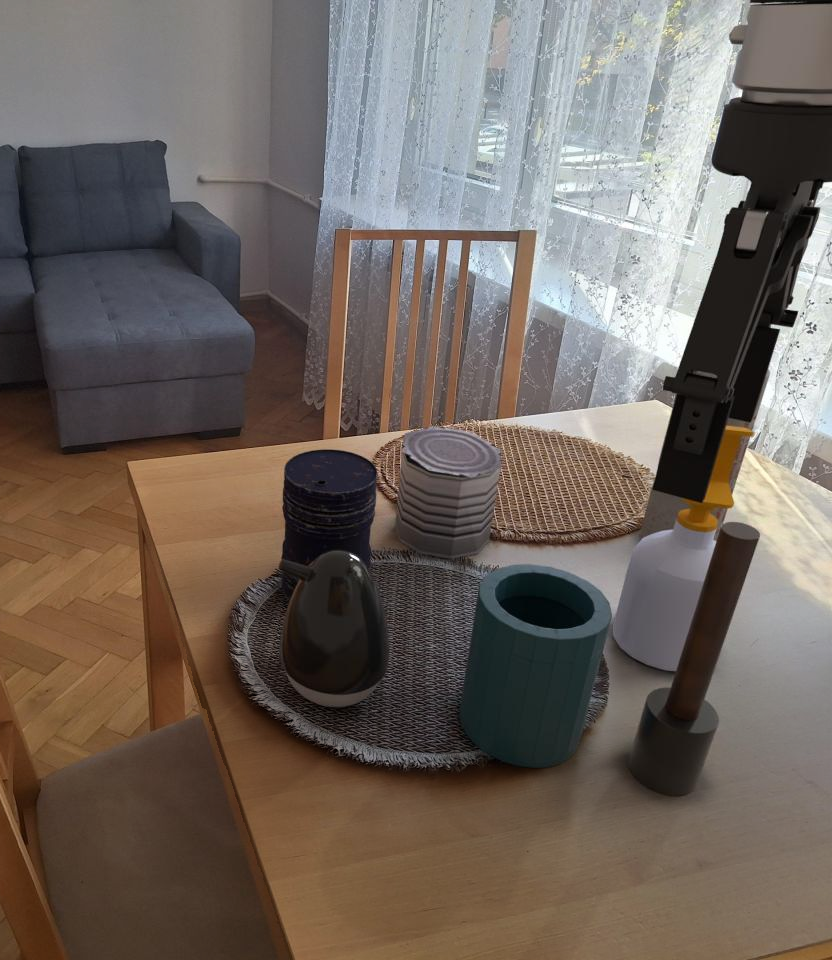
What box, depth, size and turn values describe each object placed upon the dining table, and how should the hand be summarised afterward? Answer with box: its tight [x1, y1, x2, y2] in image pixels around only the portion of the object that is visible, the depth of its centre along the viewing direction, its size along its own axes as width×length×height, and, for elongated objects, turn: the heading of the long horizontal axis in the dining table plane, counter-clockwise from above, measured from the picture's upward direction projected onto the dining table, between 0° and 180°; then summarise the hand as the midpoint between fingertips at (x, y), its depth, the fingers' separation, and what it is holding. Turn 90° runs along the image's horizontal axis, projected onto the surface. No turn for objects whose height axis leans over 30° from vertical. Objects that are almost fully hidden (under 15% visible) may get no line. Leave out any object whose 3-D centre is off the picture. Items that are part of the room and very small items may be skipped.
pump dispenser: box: [278, 549, 390, 708], centre depth 79 cm, size 10×10×15 cm
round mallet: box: [627, 521, 761, 797], centre depth 66 cm, size 5×5×24 cm
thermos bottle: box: [639, 368, 771, 541], centre depth 95 cm, size 8×8×28 cm
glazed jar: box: [459, 563, 613, 769], centre depth 74 cm, size 10×10×14 cm
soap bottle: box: [612, 426, 755, 672], centre depth 80 cm, size 9×9×25 cm
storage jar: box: [280, 448, 378, 602], centre depth 93 cm, size 10×10×15 cm
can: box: [394, 425, 502, 560], centre depth 103 cm, size 11×11×12 cm
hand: (705, 452), depth 56 cm, fingers open, 13 cm apart
